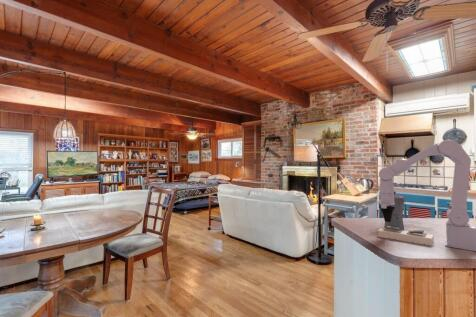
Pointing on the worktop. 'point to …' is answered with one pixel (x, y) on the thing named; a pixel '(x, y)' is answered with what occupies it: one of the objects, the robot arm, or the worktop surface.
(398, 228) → the rocker
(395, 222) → the moka pot
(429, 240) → the power strip
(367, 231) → the worktop surface
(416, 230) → the rocker
